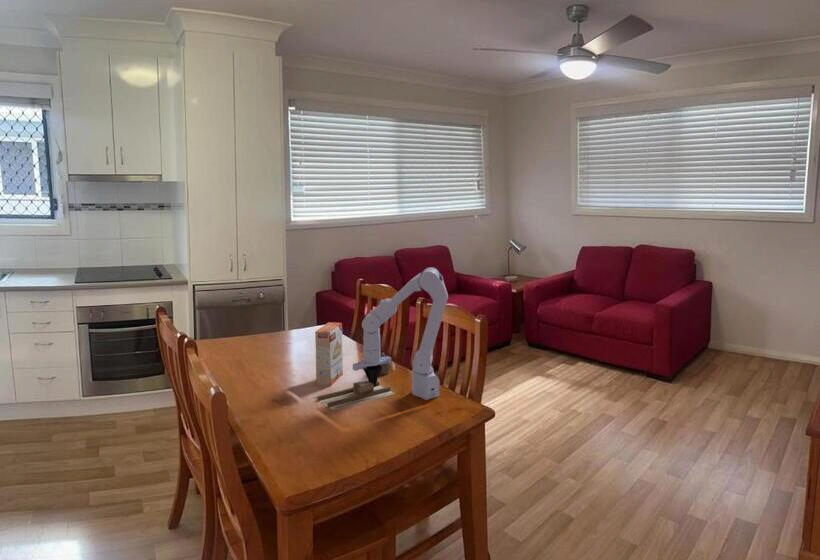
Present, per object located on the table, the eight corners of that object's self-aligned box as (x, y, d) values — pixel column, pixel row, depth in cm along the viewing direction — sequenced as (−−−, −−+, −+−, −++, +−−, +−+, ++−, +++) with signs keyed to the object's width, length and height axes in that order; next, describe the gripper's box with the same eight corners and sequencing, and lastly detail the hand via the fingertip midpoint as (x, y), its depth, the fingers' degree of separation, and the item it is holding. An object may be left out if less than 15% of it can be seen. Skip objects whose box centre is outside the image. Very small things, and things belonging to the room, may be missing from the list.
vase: (382, 379, 213) (381, 356, 211) (368, 375, 217) (367, 353, 216) (393, 374, 218) (393, 352, 217) (379, 370, 223) (379, 348, 221)
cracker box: (331, 389, 203) (330, 332, 200) (315, 388, 204) (313, 331, 201) (344, 375, 217) (342, 322, 213) (328, 374, 218) (327, 321, 214)
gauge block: (373, 393, 196) (373, 383, 196) (361, 397, 193) (361, 386, 193) (365, 389, 200) (365, 379, 200) (353, 392, 197) (353, 382, 197)
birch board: (395, 396, 196) (395, 390, 196) (333, 413, 182) (333, 407, 182) (373, 384, 208) (373, 378, 207) (313, 399, 194) (313, 393, 193)
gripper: (383, 342, 204) (383, 378, 206) (347, 349, 195) (348, 387, 198) (394, 346, 198) (394, 384, 201) (358, 354, 190) (359, 393, 192)
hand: (372, 386), depth 199 cm, fingers closed
